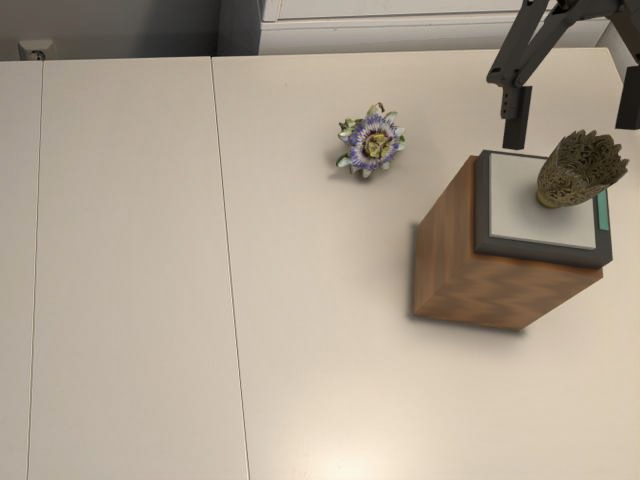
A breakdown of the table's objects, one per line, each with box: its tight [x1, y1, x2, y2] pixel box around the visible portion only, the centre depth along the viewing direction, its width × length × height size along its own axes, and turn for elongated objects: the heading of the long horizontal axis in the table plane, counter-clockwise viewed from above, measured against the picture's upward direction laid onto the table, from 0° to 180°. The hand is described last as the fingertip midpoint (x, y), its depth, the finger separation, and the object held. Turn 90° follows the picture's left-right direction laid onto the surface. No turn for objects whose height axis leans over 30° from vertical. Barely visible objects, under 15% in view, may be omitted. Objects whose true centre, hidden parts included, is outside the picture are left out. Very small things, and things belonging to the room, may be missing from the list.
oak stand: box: [412, 154, 604, 332], centre depth 80 cm, size 16×16×18 cm
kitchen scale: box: [474, 148, 614, 270], centre depth 70 cm, size 15×14×3 cm
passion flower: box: [334, 101, 407, 179], centre depth 93 cm, size 11×11×12 cm
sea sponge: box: [536, 129, 631, 209], centre depth 65 cm, size 8×7×8 cm
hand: (570, 139), depth 64 cm, fingers open, 13 cm apart
